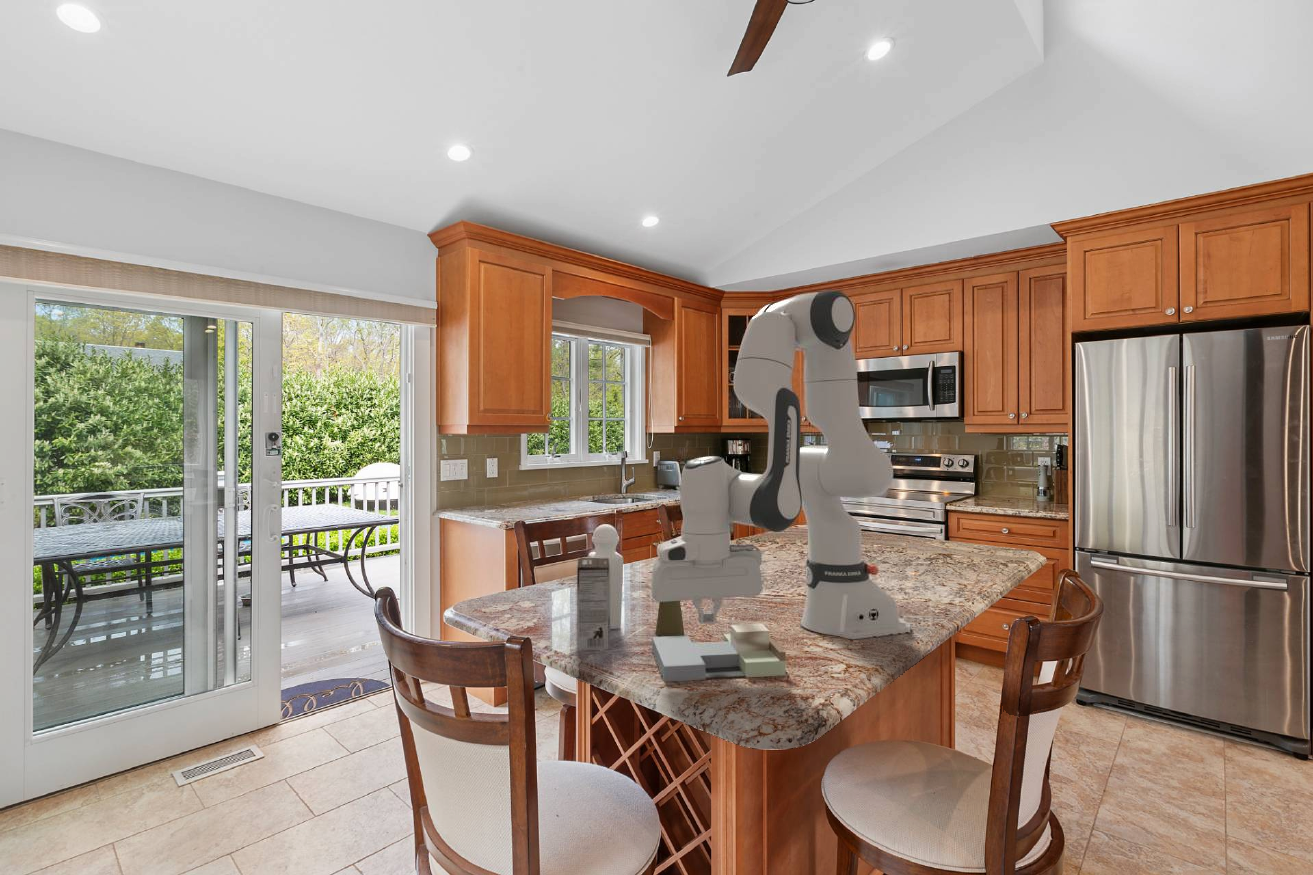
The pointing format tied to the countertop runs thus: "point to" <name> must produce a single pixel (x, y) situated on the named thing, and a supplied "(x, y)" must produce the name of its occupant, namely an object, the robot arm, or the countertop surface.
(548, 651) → the countertop surface
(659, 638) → the track
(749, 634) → the cream block
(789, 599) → the countertop surface
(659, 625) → the cork
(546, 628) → the countertop surface
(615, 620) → the white peg figure
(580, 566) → the coffee box
